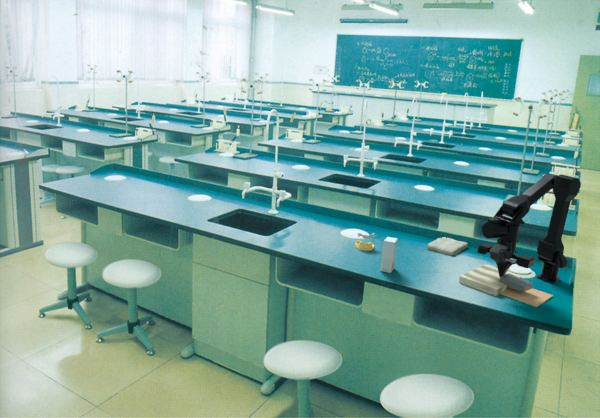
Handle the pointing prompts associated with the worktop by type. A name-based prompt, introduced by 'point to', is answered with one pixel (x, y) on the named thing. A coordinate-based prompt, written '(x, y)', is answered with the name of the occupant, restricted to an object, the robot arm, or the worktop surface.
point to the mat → (527, 296)
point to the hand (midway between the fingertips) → (501, 277)
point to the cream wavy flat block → (485, 280)
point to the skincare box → (388, 254)
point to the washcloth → (447, 246)
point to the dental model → (365, 246)
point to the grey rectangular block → (516, 282)
